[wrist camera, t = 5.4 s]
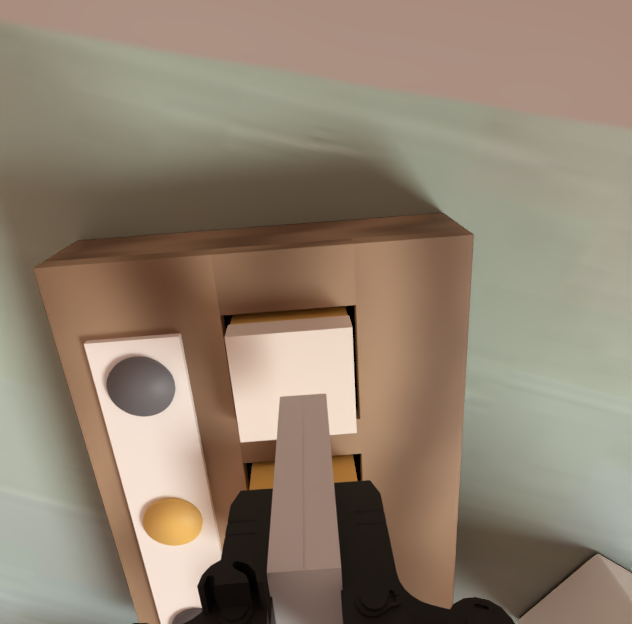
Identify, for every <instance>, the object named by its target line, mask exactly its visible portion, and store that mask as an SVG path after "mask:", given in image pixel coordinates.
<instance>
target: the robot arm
mask: <svg viewBox="0 0 632 624" xmlns="http://www.w3.org/2000/svg"><path fill="white" fill-rule="evenodd" d="M197 588H198V593H199V597H200V602H201V606H202V612H201V613H200V614H198V615H197V616H196V617H194V618H193V619H191V620H189V621H187V622H185V623H183V624H515V623H514V621H513V620H512V618H511V617H510V616H509V615H508V614H507V613H506V612H505V611H504V610H503V609H502V608H501V607H499V606H498V605H496V604H494V603H493V602H491V601H489V600H485V599H481V598H477V597H473V598H464V599H462V600H460V601H458V602H457V603H455V604H453V606H452V607H451V609H446V608H442V607H438V606H434V605H430V604H427V603H425V602H422V601H420V600H418V599H417V598H415V597H413V596H412V595H411V594H410V593H409V592H408V591H406V590H405V588H404V587H403V585H402V584H401V582H400V581H399V578H398V575H397V571H396V566H395V562H394V557H393V552H392V547H391V542H390V537H389V532H388V527H387V523H386V518H385V513H384V508H383V503H382V498H381V493H380V492H379V491H378V490H377V488H376V487H375V486H374V484H373V483H372V482H371V481H370V480H365V481H351V482H337V483H334V478H333V467H332V455H331V443H330V432H329V420H328V409H327V397H326V393H325V394H311V395H297V396H283V397H280V402H279V415H278V428H277V442H276V455H275V469H274V482H273V488H271V489H257V490H243V491H240V492H239V494H238V495H237V497H236V498H235V500H234V501H233V502H232V504H231V505H230V511H229V516H228V525H227V528H226V533H225V539H224V544H223V550H222V556H221V560H220V561H218V562H216V563H214V564H213V565H211V566H210V567H209V568H208V569H207V570H206V571H205V572H204V573H203V575H202V576H201V578H200V581H199V583H198V585H197ZM134 624H148V623H134Z"/></svg>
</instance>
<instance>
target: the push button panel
mask: <svg viewBox="0 0 632 624" xmlns="http://www.w3.org/2000/svg"><path fill="white" fill-rule="evenodd" d="M84 347H85V351H86V354H87V358H88V361H89V365H90V369H91V372H92V376H93V380H94V383H95V387H96V390H97V394H98V398H99V401H100V405H101V409H102V412H103V416H104V419H105V423H106V427H107V430H108V434H109V438H110V441H111V445H112V448H113V452H114V456H115V459H116V463H117V467H118V470H119V474H120V478H121V481H122V485H123V488H124V492H125V496H126V499H127V503H128V507H129V510H130V514H131V517H132V521H133V525H134V528H135V532H136V536H137V539H138V543H139V546H140V550H141V554H142V557H143V561H144V565H145V568H146V572H147V576H148V579H149V583H150V586H151V590H152V594H153V597H154V601H155V605H156V608H157V612H158V615H159V619H160V623H161V624H183V623H185V622H187V621H189V620H191V619H193V618H194V617H196V616H197V615H198V614H200V613H201V612H202V606H201V602H200V597H199V593H198V588H197V585H198V583H199V581H200V578H201V576H202V575H203V573H204V572H205V571H206V570H207V569H208V568H209V567H210V566H211V565H213V564H214V563H216V562H218V561H220V560H221V556H222V549H221V543H220V538H219V533H218V528H217V522H216V517H215V512H214V506H213V501H212V496H211V491H210V485H209V480H208V475H207V470H206V464H205V459H204V454H203V448H202V443H201V438H200V433H199V427H198V422H197V417H196V412H195V406H194V401H193V396H192V391H191V385H190V380H189V375H188V369H187V364H186V359H185V354H184V348H183V343H182V338H181V333H177V334H164V335H151V336H138V337H126V338H113V339H100V340H87V341H86V342H85V343H84Z"/></svg>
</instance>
